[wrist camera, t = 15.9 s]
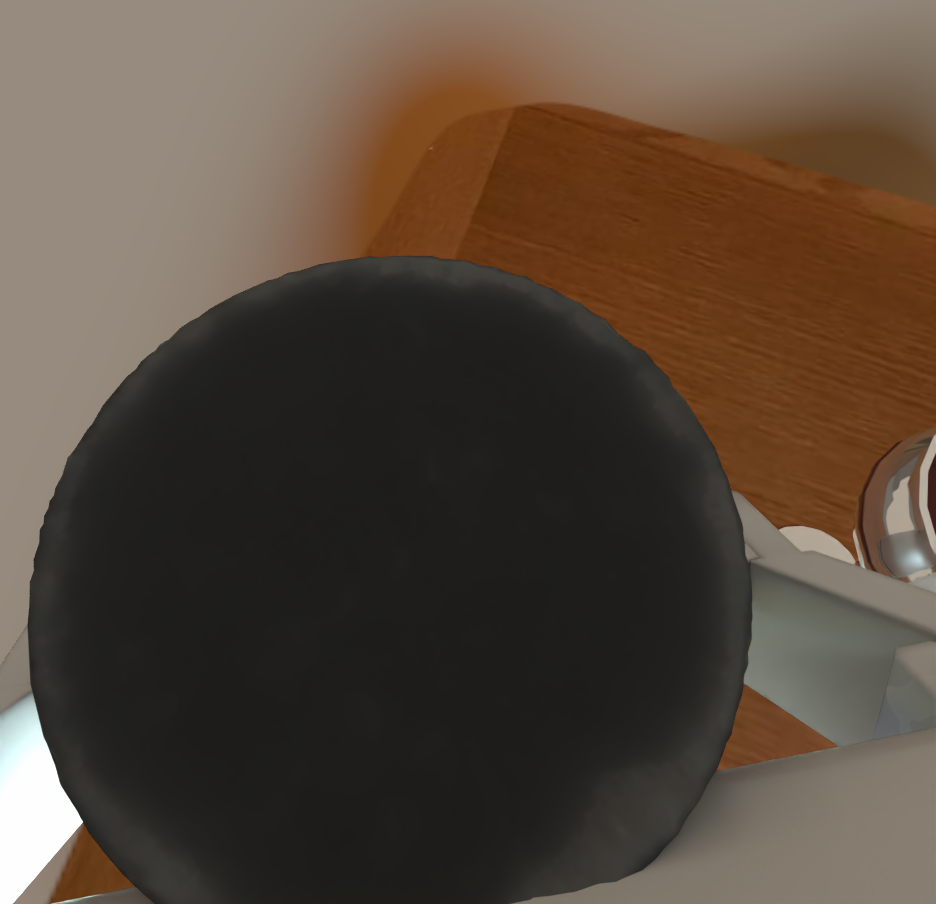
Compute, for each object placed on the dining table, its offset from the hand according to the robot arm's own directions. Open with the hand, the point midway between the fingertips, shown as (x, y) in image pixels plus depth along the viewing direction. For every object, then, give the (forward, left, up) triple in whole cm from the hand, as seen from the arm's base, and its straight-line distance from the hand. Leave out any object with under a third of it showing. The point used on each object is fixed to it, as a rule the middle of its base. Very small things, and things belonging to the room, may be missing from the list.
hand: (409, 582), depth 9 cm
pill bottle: (0, -1, -6) cm, 6 cm away
